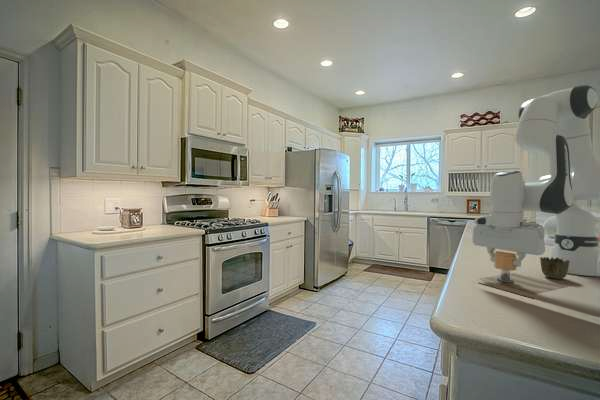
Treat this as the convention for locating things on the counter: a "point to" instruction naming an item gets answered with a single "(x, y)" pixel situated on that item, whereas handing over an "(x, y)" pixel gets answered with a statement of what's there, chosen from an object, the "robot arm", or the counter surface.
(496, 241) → the robot arm
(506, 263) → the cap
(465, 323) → the counter surface
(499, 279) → the stud
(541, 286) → the board
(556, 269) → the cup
